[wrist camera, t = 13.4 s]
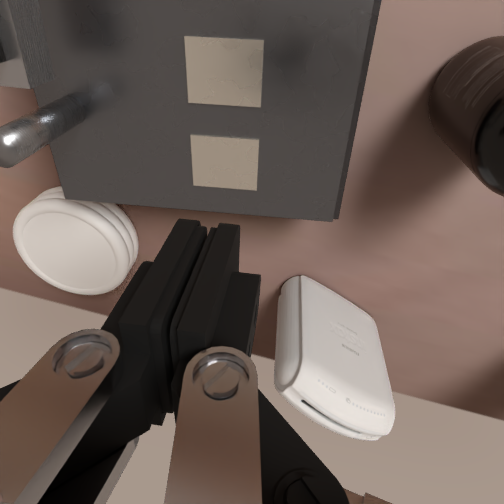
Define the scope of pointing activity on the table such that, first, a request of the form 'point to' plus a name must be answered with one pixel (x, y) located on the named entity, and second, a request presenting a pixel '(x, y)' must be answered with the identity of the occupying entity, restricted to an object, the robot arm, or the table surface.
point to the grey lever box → (201, 103)
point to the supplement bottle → (473, 109)
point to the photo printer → (331, 361)
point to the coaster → (76, 242)
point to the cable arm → (23, 45)
